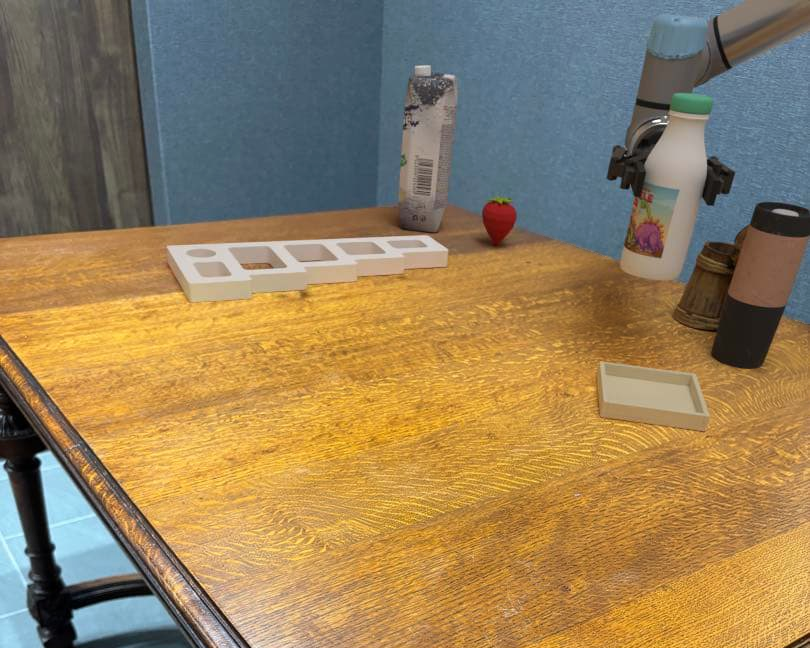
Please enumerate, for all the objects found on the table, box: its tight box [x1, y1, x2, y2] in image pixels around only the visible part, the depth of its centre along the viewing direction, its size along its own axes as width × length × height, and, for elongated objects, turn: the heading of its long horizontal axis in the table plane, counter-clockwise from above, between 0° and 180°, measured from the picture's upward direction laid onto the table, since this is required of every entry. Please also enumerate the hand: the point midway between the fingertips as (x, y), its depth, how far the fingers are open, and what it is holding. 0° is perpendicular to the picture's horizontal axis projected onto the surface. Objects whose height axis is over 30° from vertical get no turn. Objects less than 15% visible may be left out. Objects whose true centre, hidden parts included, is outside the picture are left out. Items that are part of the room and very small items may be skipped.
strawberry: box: [481, 187, 518, 246], centre depth 148 cm, size 6×8×10 cm
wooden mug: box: [672, 223, 750, 332], centre depth 119 cm, size 9×14×18 cm, turn 12°
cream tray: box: [596, 360, 711, 432], centre depth 99 cm, size 12×12×2 cm
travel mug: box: [710, 201, 810, 369], centre depth 108 cm, size 8×8×20 cm
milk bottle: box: [619, 93, 714, 281], centre depth 98 cm, size 8×8×20 cm
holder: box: [166, 234, 450, 303], centre depth 129 cm, size 45×18×3 cm, turn 113°
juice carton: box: [397, 65, 458, 233], centre depth 150 cm, size 9×10×27 cm
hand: (676, 188), depth 93 cm, fingers closed on milk bottle, 8 cm apart
